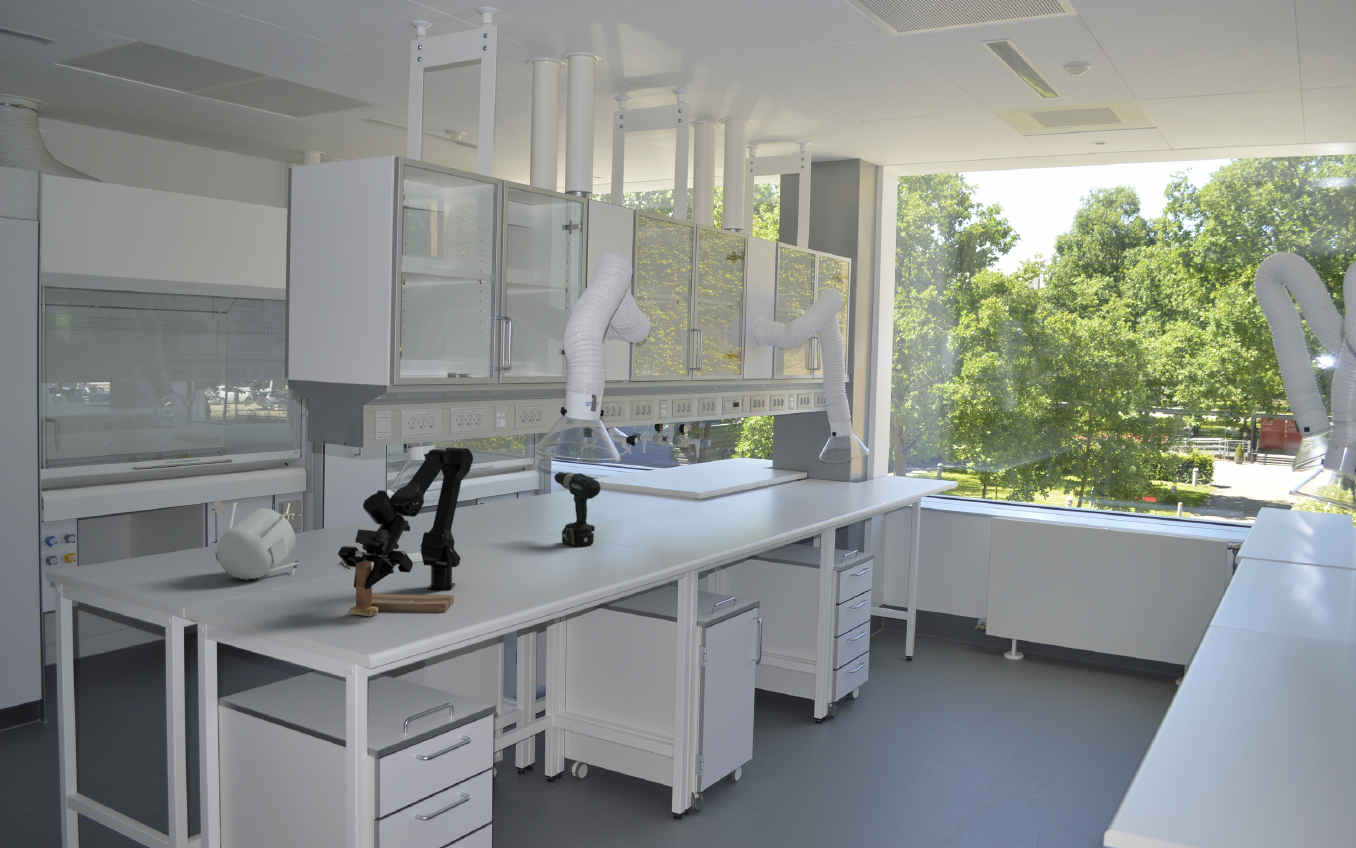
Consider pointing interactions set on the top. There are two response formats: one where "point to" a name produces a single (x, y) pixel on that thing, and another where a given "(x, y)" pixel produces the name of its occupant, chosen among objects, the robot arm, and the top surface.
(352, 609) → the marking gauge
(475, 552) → the top surface
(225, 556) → the satellite
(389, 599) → the tan wooden flat board
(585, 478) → the power drill
